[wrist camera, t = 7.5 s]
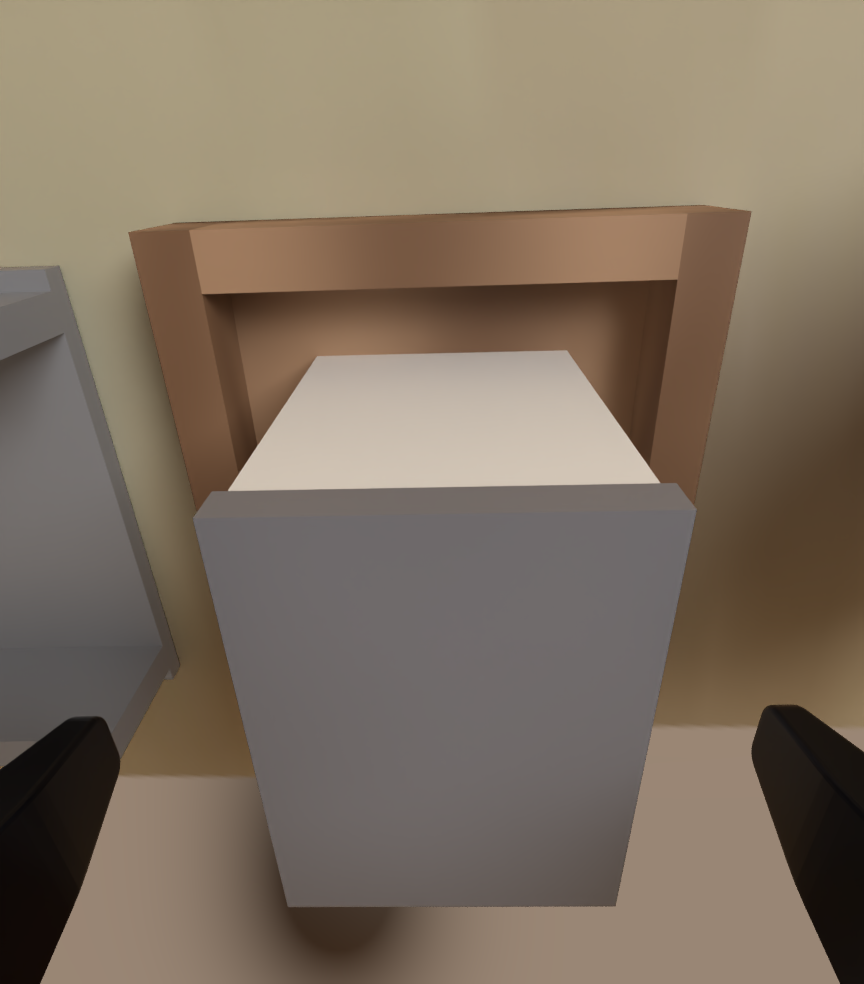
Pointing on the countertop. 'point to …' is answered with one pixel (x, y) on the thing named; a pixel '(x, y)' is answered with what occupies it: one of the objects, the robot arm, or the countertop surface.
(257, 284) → the walnut tray
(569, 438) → the grey-fronted drawer box
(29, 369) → the grey drawer cabinet
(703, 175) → the countertop surface
